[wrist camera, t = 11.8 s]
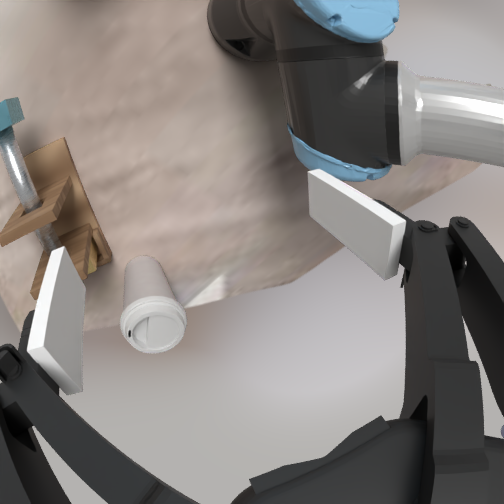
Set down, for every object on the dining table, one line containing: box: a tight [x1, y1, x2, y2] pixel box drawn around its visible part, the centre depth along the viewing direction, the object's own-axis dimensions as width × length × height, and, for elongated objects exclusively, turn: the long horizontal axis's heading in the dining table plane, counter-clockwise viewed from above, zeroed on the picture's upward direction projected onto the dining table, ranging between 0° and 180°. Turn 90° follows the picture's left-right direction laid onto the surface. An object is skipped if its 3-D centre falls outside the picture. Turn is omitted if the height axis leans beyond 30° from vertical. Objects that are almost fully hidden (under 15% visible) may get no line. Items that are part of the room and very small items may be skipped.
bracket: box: [0, 137, 112, 300], centre depth 34 cm, size 20×10×14 cm, turn 11°
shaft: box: [0, 97, 63, 257], centre depth 28 cm, size 20×5×5 cm, turn 11°
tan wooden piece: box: [88, 233, 98, 274], centre depth 40 cm, size 2×7×7 cm, turn 101°
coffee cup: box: [120, 256, 187, 353], centre depth 45 cm, size 10×10×15 cm
